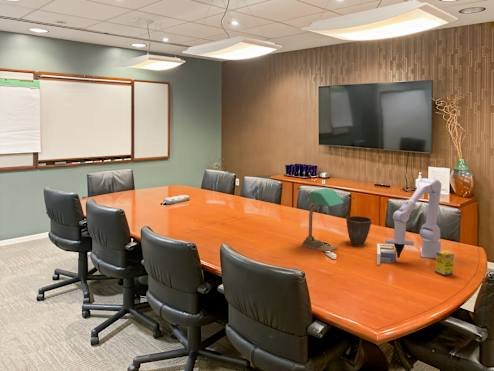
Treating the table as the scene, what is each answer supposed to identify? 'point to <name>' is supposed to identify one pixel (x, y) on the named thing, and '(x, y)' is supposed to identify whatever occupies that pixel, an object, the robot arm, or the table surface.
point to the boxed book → (388, 254)
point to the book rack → (380, 259)
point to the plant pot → (358, 229)
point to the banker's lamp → (316, 197)
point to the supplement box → (444, 262)
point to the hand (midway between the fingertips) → (398, 257)
